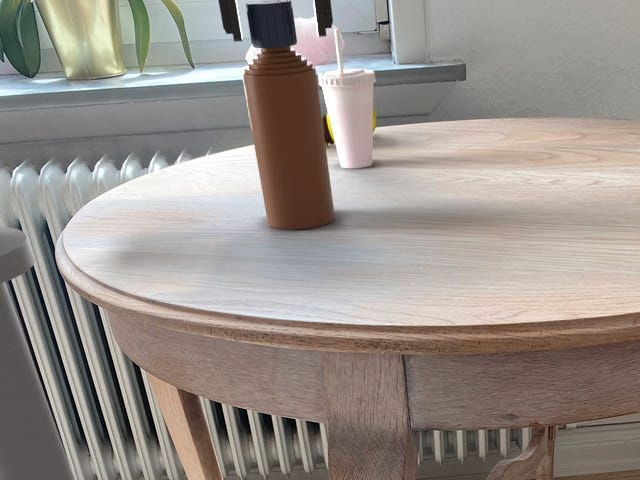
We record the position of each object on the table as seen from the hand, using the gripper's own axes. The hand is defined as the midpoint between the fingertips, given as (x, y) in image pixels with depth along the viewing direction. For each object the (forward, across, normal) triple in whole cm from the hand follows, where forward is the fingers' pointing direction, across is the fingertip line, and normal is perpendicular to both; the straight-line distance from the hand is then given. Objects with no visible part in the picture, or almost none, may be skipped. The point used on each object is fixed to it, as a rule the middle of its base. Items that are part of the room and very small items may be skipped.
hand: (280, 37), depth 76 cm
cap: (+1, -1, +1) cm, 1 cm away
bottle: (+16, 0, +1) cm, 16 cm away
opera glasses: (+16, +6, +36) cm, 40 cm away
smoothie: (+16, +7, +22) cm, 28 cm away
